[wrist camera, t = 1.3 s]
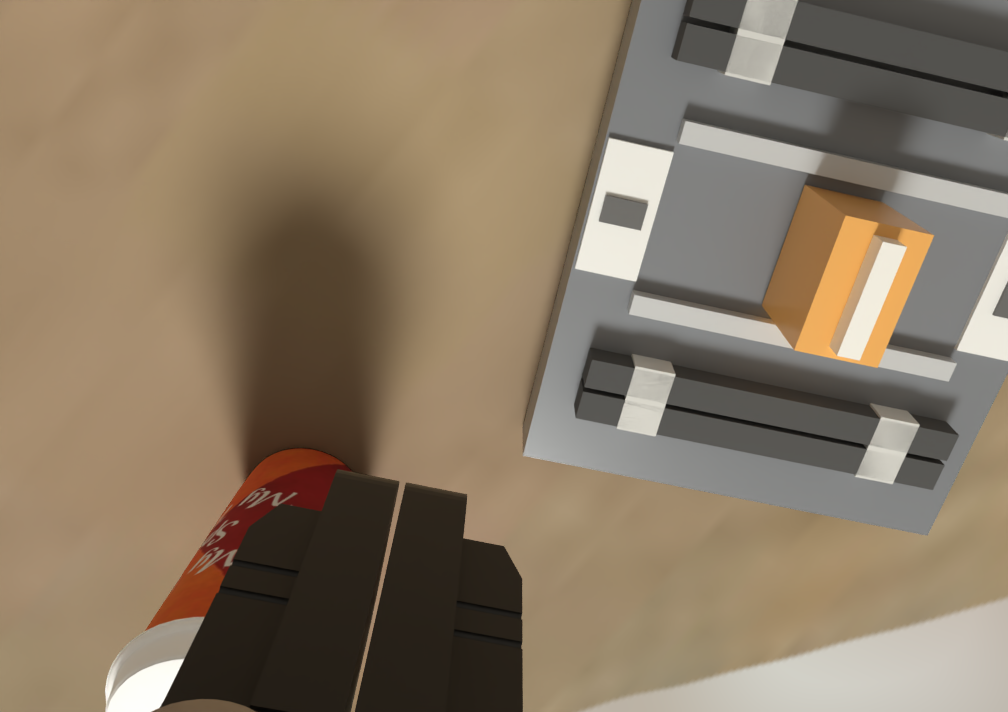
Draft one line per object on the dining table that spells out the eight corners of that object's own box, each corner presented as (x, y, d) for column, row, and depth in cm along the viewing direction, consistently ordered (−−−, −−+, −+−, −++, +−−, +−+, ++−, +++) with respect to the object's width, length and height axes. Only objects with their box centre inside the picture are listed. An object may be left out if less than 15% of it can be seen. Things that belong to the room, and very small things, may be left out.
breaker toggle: (804, 184, 32) (854, 222, 27) (882, 202, 32) (945, 242, 28) (761, 305, 34) (801, 359, 29) (835, 321, 34) (886, 377, 30)
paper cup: (263, 398, 39) (137, 608, 26) (417, 474, 40) (370, 708, 28) (196, 526, 42) (54, 773, 29) (343, 593, 43) (269, 856, 30)
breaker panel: (662, -120, 31) (677, -129, 28) (1142, 0, 32) (1203, 3, 29) (522, 427, 39) (522, 462, 37) (904, 503, 41) (933, 543, 38)
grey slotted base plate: (681, -27, 32) (700, -26, 28) (1069, 67, 33) (1132, 78, 30) (570, 380, 38) (574, 420, 35) (896, 447, 39) (931, 492, 36)
